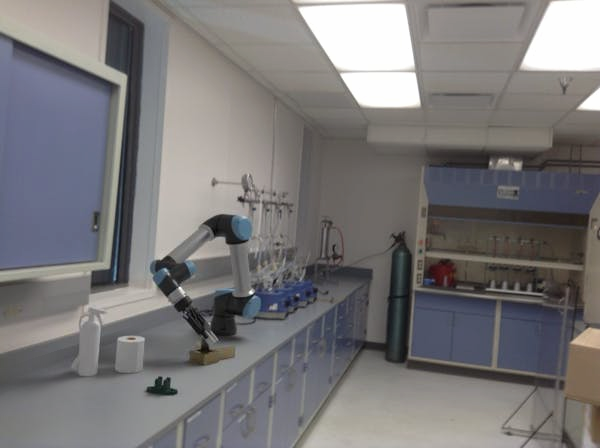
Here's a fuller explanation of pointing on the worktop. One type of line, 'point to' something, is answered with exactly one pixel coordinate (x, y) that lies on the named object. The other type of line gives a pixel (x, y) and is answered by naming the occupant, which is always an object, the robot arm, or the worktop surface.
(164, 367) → the worktop surface
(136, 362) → the toilet paper
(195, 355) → the tan piece
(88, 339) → the fire extinguisher
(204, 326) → the hinge pin
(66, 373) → the worktop surface
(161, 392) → the mount
